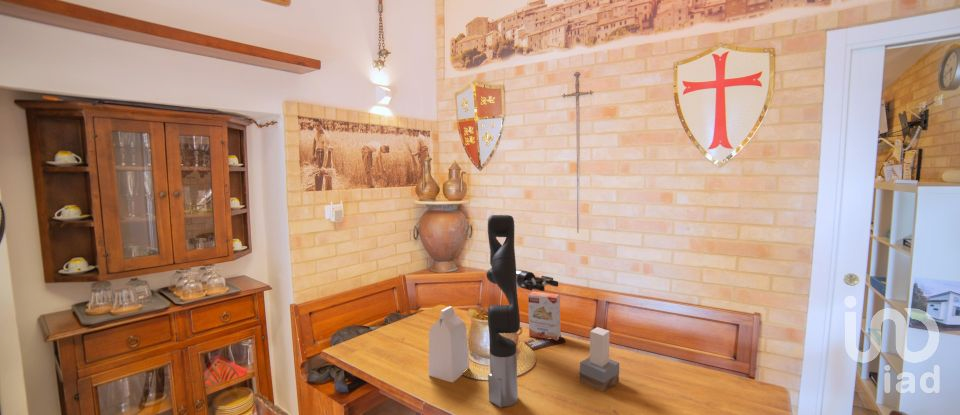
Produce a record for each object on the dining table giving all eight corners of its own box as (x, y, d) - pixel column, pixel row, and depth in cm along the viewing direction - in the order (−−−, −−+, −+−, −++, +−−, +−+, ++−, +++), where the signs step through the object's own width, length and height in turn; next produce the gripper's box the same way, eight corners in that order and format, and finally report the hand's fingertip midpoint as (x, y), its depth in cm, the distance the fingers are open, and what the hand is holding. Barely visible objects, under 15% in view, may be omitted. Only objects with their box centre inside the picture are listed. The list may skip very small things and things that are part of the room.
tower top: (604, 383, 137) (604, 372, 137) (580, 372, 145) (580, 362, 145) (619, 373, 144) (619, 362, 143) (595, 363, 151) (595, 353, 151)
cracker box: (528, 336, 187) (527, 294, 186) (533, 332, 192) (532, 290, 191) (557, 341, 181) (556, 297, 179) (561, 336, 186) (560, 293, 184)
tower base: (603, 393, 138) (603, 382, 138) (579, 382, 146) (579, 372, 145) (618, 383, 144) (618, 372, 144) (595, 373, 152) (595, 363, 152)
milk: (446, 362, 164) (443, 302, 162) (469, 368, 158) (467, 306, 156) (428, 375, 154) (425, 311, 152) (452, 382, 148) (449, 315, 146)
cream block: (602, 367, 140) (602, 335, 139) (589, 362, 144) (590, 331, 142) (608, 361, 144) (609, 331, 142) (596, 357, 147) (597, 327, 146)
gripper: (510, 273, 166) (539, 280, 154) (533, 267, 175) (562, 273, 163) (510, 290, 167) (539, 299, 154) (533, 284, 176) (562, 291, 163)
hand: (551, 286), depth 159 cm, fingers open, 8 cm apart
